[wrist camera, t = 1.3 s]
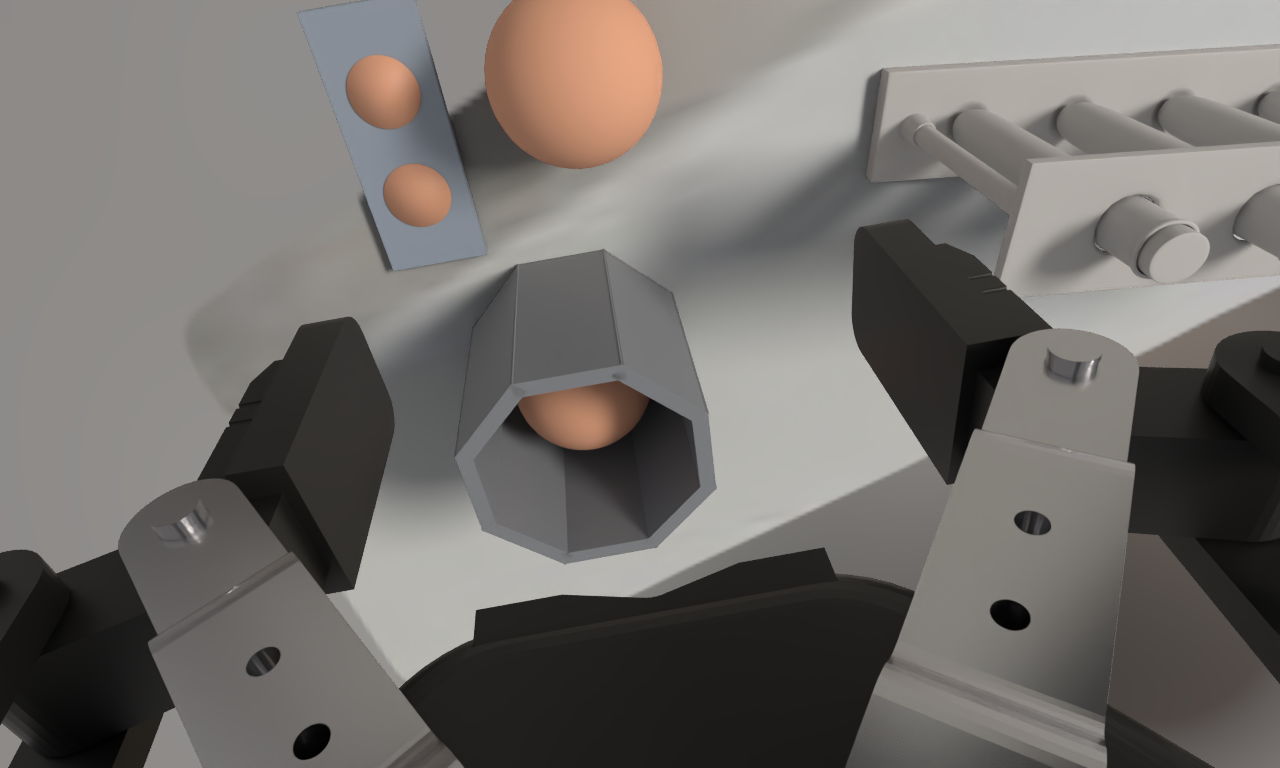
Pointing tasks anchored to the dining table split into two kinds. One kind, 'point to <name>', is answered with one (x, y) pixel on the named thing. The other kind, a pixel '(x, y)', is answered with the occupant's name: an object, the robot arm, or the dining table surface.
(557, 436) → the ball in tube
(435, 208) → the card
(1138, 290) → the dining table surface
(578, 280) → the tube
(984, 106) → the test tube rack
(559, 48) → the ball
